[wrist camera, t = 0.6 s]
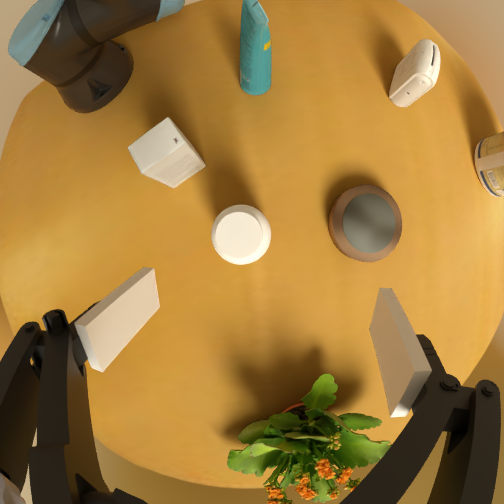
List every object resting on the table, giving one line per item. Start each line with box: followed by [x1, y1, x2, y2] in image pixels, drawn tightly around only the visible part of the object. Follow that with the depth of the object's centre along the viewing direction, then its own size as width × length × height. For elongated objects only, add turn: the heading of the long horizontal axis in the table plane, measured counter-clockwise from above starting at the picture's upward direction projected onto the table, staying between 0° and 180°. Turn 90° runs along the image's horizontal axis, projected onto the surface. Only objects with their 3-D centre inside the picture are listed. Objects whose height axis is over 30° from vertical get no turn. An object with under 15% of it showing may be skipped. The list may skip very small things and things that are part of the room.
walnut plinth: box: [328, 185, 402, 262], centre depth 37 cm, size 11×11×3 cm
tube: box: [240, 0, 271, 95], centre depth 28 cm, size 7×5×19 cm, turn 22°
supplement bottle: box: [211, 205, 271, 264], centre depth 33 cm, size 7×7×13 cm
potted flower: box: [227, 374, 392, 504], centre depth 33 cm, size 25×24×18 cm
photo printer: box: [389, 39, 440, 107], centre depth 31 cm, size 10×4×12 cm, turn 156°
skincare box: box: [128, 117, 206, 188], centre depth 33 cm, size 6×4×12 cm
